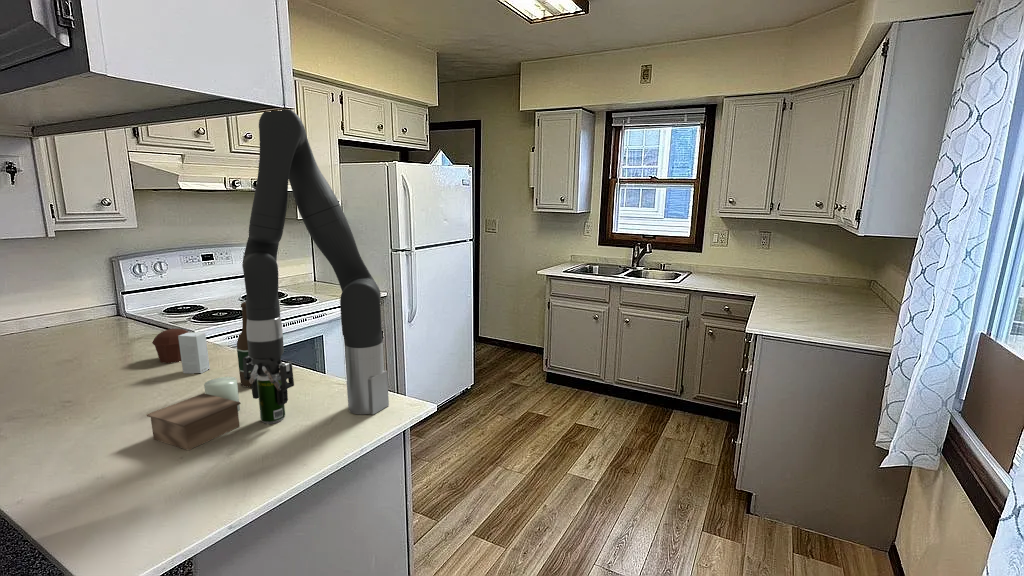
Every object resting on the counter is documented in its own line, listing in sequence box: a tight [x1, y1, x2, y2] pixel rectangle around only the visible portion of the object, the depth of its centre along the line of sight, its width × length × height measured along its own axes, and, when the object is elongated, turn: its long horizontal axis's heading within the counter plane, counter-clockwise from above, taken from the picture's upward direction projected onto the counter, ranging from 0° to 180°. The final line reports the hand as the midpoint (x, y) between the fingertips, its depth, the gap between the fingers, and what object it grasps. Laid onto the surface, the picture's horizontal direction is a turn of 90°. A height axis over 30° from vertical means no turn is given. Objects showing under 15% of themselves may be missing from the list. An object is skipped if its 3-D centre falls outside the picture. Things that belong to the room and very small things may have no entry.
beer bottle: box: [236, 301, 252, 388], centre depth 140 cm, size 8×8×24 cm
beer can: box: [257, 372, 286, 425], centre depth 117 cm, size 5×5×12 cm
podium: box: [146, 392, 241, 451], centre depth 111 cm, size 13×13×6 cm
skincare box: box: [178, 331, 211, 374], centre depth 150 cm, size 6×4×12 cm
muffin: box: [151, 328, 191, 364], centre depth 162 cm, size 12×11×10 cm
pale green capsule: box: [203, 376, 241, 413], centre depth 122 cm, size 7×7×8 cm
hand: (270, 400), depth 118 cm, fingers open, 8 cm apart
